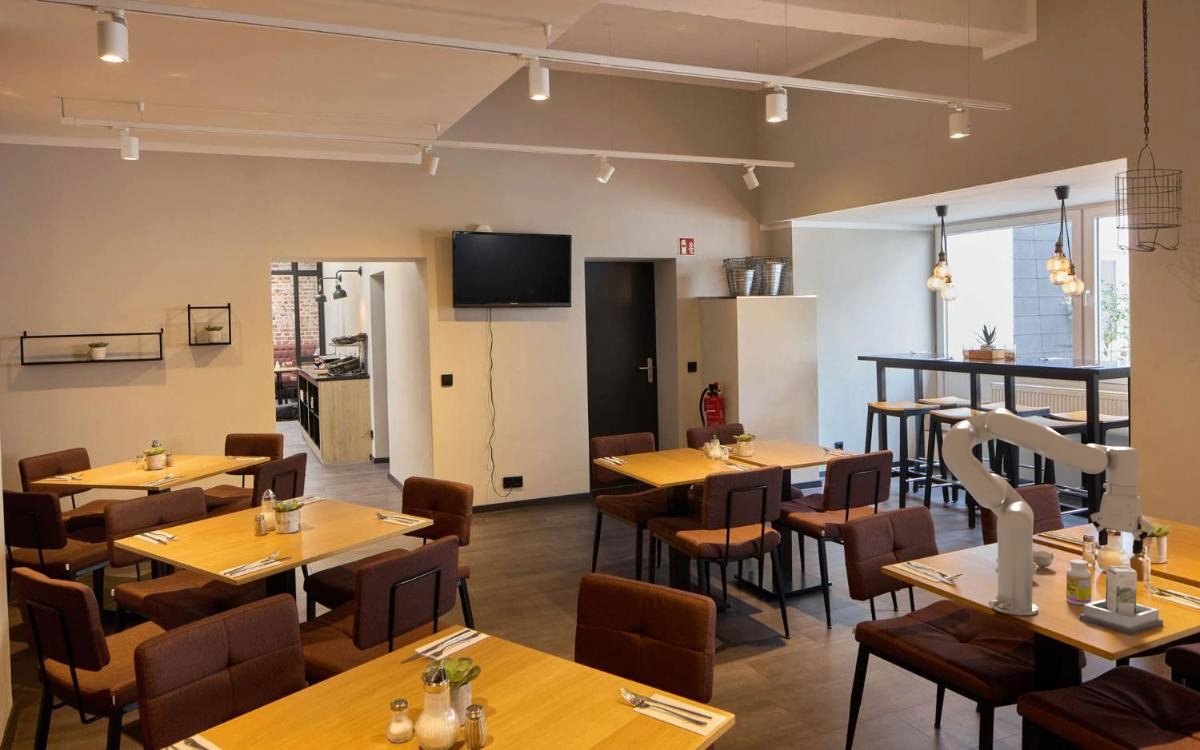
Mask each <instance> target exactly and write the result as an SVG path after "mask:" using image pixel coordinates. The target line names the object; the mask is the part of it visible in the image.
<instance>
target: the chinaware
mask: <svg viewBox="0 0 1200 750" xmlns="http://www.w3.org/2000/svg"><path fill="white" fill-rule="evenodd" d="M1055 557H1056V554H1055V553H1053V552H1051V553H1050V552H1048V551H1045V550H1038V551H1035V550H1033V577H1034V576H1035V575H1036V573H1037V569H1038V570H1043V571H1044V570H1048V567H1049V566H1050V565H1052V563H1053V560H1054V558H1055ZM995 560H996V563H997V564H998V556H997V557H996V559H995Z"/></svg>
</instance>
